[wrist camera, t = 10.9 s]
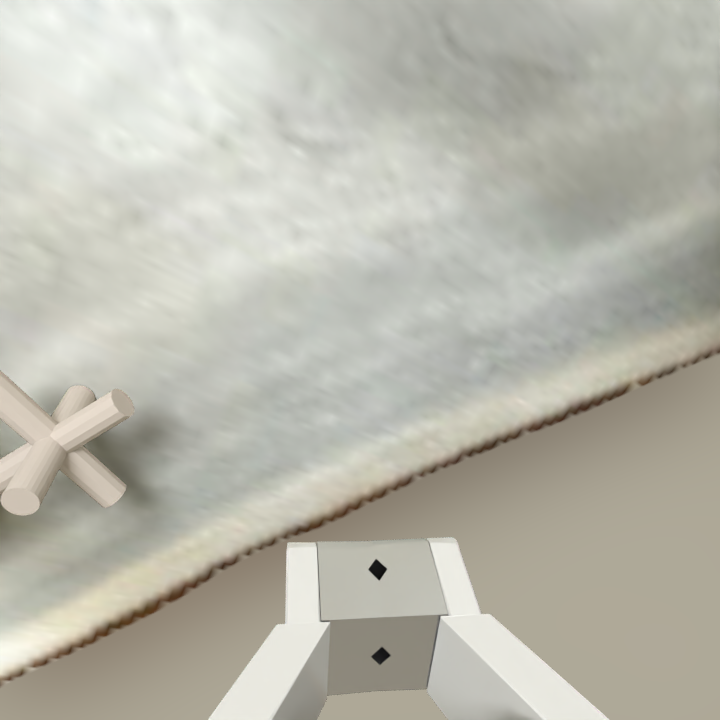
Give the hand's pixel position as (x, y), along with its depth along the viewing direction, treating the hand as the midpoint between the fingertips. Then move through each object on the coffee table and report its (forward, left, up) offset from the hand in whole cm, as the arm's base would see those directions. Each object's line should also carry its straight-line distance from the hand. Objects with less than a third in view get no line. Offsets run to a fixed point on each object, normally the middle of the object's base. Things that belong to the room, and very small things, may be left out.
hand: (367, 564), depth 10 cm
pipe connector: (+15, +13, -27) cm, 33 cm away
